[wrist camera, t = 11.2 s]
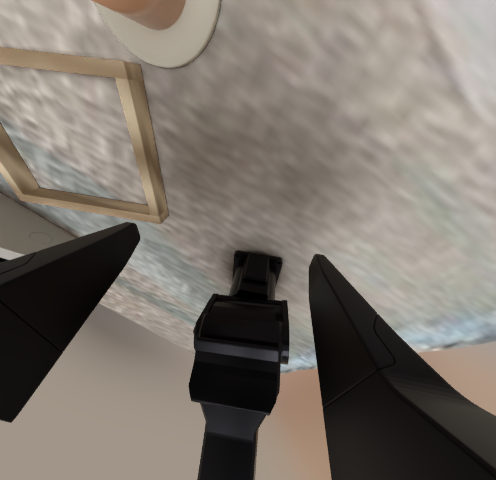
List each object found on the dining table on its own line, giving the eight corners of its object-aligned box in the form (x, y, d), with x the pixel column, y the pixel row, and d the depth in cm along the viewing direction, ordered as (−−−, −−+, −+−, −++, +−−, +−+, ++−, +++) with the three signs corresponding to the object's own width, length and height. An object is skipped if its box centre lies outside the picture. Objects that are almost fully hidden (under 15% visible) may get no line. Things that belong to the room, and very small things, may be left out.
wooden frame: (168, 215, 24) (160, 223, 22) (37, 193, 25) (20, 200, 23) (140, 64, 15) (123, 61, 14) (-60, 41, 16) (-96, 36, 15)
